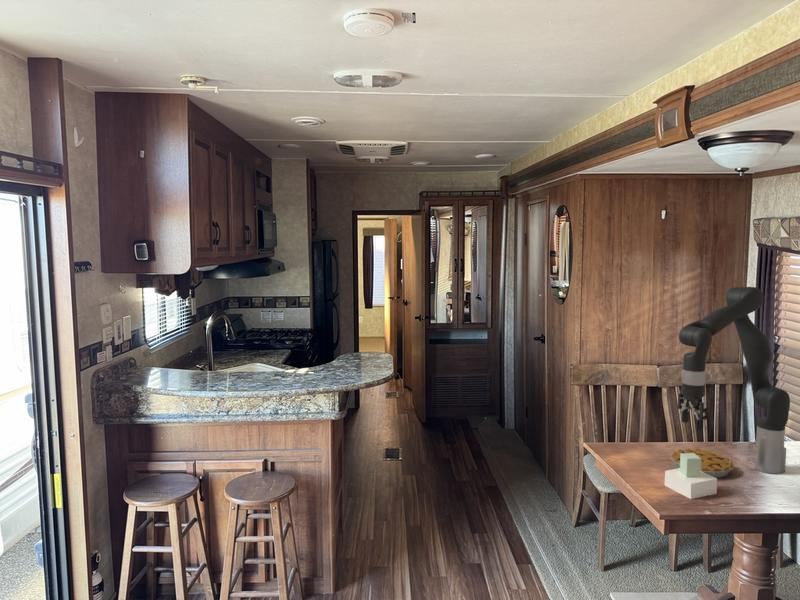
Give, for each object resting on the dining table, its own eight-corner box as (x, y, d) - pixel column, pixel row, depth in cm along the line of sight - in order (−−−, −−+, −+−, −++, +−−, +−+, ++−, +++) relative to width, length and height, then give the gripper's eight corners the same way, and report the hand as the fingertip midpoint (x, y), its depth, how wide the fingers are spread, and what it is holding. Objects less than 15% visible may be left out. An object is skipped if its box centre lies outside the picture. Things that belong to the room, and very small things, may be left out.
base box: (689, 481, 214) (690, 466, 213) (716, 494, 203) (717, 478, 202) (664, 486, 210) (665, 470, 210) (690, 500, 199) (691, 483, 198)
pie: (700, 455, 239) (701, 444, 238) (746, 475, 218) (746, 462, 218) (658, 462, 232) (659, 450, 232) (701, 483, 212) (702, 470, 211)
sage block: (693, 471, 209) (694, 453, 208) (700, 477, 204) (701, 458, 203) (679, 471, 209) (680, 453, 208) (686, 477, 204) (687, 458, 203)
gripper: (716, 386, 196) (714, 431, 198) (691, 376, 210) (689, 419, 212) (696, 387, 195) (694, 432, 197) (672, 377, 209) (670, 420, 211)
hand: (692, 425), depth 204 cm, fingers open, 8 cm apart
